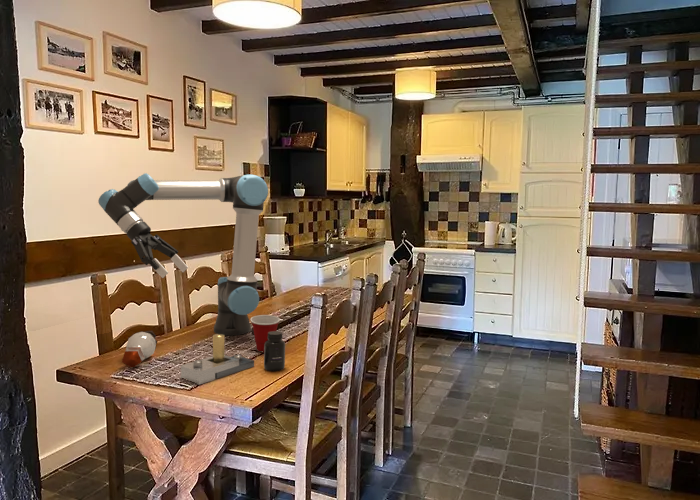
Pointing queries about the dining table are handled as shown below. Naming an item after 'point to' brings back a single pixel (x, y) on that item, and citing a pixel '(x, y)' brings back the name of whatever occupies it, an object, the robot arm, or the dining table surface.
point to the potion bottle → (138, 348)
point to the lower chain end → (243, 365)
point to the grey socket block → (206, 369)
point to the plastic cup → (263, 328)
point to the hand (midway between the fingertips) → (175, 272)
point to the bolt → (152, 334)
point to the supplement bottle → (274, 352)
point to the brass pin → (218, 348)
